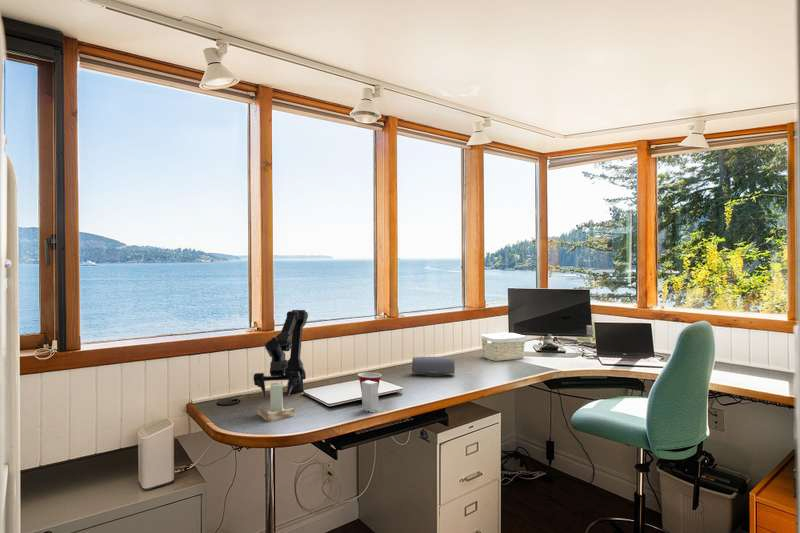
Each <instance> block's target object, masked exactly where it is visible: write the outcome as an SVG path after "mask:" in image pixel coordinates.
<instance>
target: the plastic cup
mask: <svg viewBox="0 0 800 533" xmlns="http://www.w3.org/2000/svg"><path fill="white" fill-rule="evenodd" d="M357 376H358V379H359V383H360V384H359V385H360V390H361V392H362V385H361V382H363V381H367V380H369V381H374V382H378V387H379V384H380V380H381V377H382V374H381V373H378V372H361V373H358V374H357Z"/></svg>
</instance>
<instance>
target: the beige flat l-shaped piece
mask: <svg viewBox="0 0 800 533" xmlns="http://www.w3.org/2000/svg"><path fill="white" fill-rule="evenodd" d="M257 415H258V416H259V417H261V418H263V419H264V420H265V421H267V422H273V421H278V420H282V419H287V418H291V417H295V408H294V407H292V408H287V409H285V408H283V410H282V411H277V412H272V413H271V410H270V411H268V410H266V409H264V407H263V408H262V406H258V407H257Z"/></svg>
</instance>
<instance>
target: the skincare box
mask: <svg viewBox="0 0 800 533" xmlns="http://www.w3.org/2000/svg"><path fill="white" fill-rule="evenodd" d="M361 385H362V391H361V402H362V403H361V404H362V405H361V407H362V411H364V410H365V411H364V412H368V411H369V412H368V413H371V412H373V413H375V412H374V411H377V412H379V408H380V407H379V386H378V382H374V381H369V380H367V381H363V382H361ZM361 385H360V386H361Z"/></svg>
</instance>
